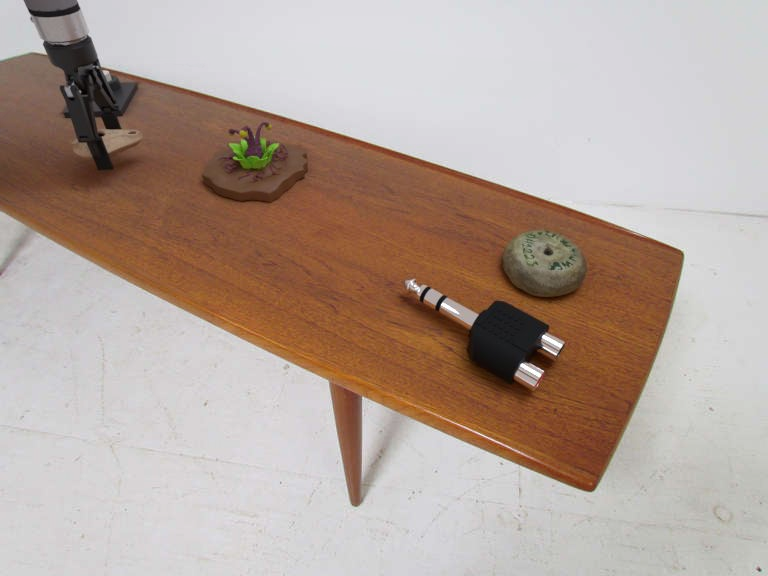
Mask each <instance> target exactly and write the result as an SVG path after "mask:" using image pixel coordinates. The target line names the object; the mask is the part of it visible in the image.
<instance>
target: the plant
mask: <svg viewBox="0 0 768 576" xmlns="http://www.w3.org/2000/svg"><path fill="white" fill-rule="evenodd" d="M263 127H265V129H266V130H268V131H271V130H272V129H273V125H272V124H271V123H270V122H267V121H263V122H260V124H259V125H258V127H257V129H256V131H255V135H254V133H253V131H252V129H251V128H250V127H249V126H248V125H245V126H242V128H241V129H240V130H238V129H233V128H229V129H228V130H227V134H228V136H231V137H234V136H235V135H236V134H237V135H239V137H240V138H241V139H240V140H236V141H232V142H229V143H228V146H227V147H225V148H222V149H220V150H217V151H216V152H215V153H214V155H213V156H212V157H211V159H210V160H209V161H208V162H207V164H206V165H205V166H204V169H203V170H202V172H201V176H202V179H203V184H204V185H206V186H207V187H210V188H211V189H212V190H213V191H214V193H216V195H217V194H218V195H219V196H221V197H224V198H228V199H232V200H235V201H238V202H245V201H260V202H266V203H272V202H274V201H276V200H277V199H279V198H280V197H281V196H282V195H283V194H284V193H285V192H287V191H289V190H291V188H292V187H293V186H294V185H295V184H296V183H297V182H298V181H299V180H301V179H304V178H305V174H306V173H307V172H308V171H309V164H308V153H307V151H306V150H305V149H304V148H302V147H300V146H298V145H295V144H291V143H285V142H282V141H278V140H271V139H266V138H265V137H262V138H261V130H262V128H263Z"/></svg>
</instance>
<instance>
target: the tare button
mask: <svg viewBox="0 0 768 576" xmlns="http://www.w3.org/2000/svg"><path fill="white" fill-rule="evenodd" d="M102 71H103V73H104V75H105V77H106V79H107V81H108V82H109V81H111V80H112V78H111V76H110V75H111V73H110V71H109V70H106V69H103V70H102Z"/></svg>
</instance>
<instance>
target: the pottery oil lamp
mask: <svg viewBox="0 0 768 576" xmlns="http://www.w3.org/2000/svg"><path fill="white" fill-rule="evenodd" d="M121 129H122V128H121ZM97 131H98V136H99V137H102V140H103V142H104V145H105V147H106V149H107V152H108V154H109V157H110V159H111V160H112V159H115V158H117V156H118V154H120V153H123V152H125V151H127V150H129V149H132V148H135V147H136V146H138V145H139V144H140V143H141V141H143V138H144V137H143V134H142V133H141V131H139V130H137V129H134V128H133V129H132V128H131V129H129V128H127V129H124V128H123V129H122V130H109V129H106V128H102V129H97ZM70 144H71V145H72V150H73V152H74V154H75V155H76V156H79V157H81V158H84V159H88V160H93V161H94V159H93V157H92V155H91V152H90V150H89V148H88V145H87V143H79V142H78V139H77V138H75V139H74V140H72V141H71V143H70Z"/></svg>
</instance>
